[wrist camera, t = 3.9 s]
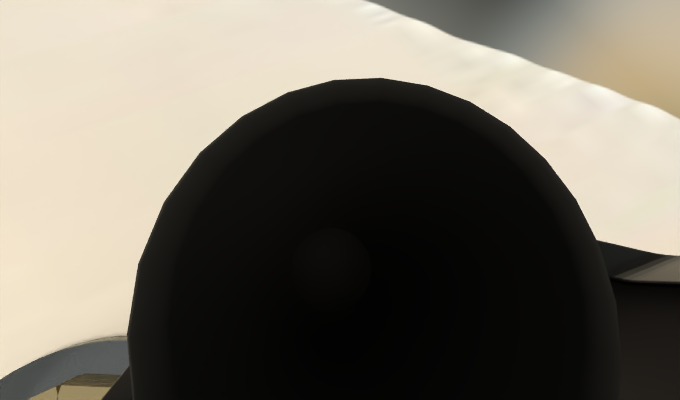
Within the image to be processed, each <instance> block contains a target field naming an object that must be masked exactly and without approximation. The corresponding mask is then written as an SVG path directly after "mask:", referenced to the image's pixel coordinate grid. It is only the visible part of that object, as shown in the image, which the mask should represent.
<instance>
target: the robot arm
mask: <svg viewBox="0 0 680 400" xmlns="http://www.w3.org/2000/svg"><path fill="white" fill-rule="evenodd" d="M597 242H598V244H599V246H600V249H601V252H602V255H603V259H604V262H605V266H606V269H607V272H608V276H609V279H610V283H611V286H612V289H613V293H614V296H615V300H616V306H617V316H618V326H619V336H620V346H621V356H622V367H621V377H620V387H619V397H618V400H680V256H672V255H663V254H656V253H651V252H646V251H642V250H637V249H633V248H629V247H624V246H620V245H616V244H611V243H607V242H603V241H598V240H597ZM101 400H133V399H132V388H131V377H130V366H128V367H127V368H126V370H125V371H124V372H123V373H122V375H121V376H120V377H119V378H118V380H117V381H116V382H115V383H114V384H113V386H112V387H111V388H110V389H109V390H108V392H107V393H106V394H105V395H104V396H103V398H102V399H101Z"/></svg>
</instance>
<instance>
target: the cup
mask: <svg viewBox="0 0 680 400" xmlns="http://www.w3.org/2000/svg"><path fill="white" fill-rule="evenodd" d="M127 343H128V354H129V366H130V377H131V388H132V399H133V400H618V397H619V387H620V377H621V367H622V356H621V346H620V336H619V326H618V316H617V306H616V300H615V296H614V293H613V289H612V286H611V283H610V279H609V276H608V272H607V269H606V266H605V262H604V259H603V255H602V252H601V249H600V246H599V244H598V242H597V240H596V238H595V236H594V234H593V232H592V230H591V228H590V226H589V224H588V222H587V220H586V218H585V216H584V214H583V212H582V210H581V209H580V207H579V205H578V203H577V201H576V199H575V198H574V196H573V195H572V194H571V192H570V191H569V190H568V188H567V187H566V186H565V184H564V183H563V182H562V180H561V179H560V178H559V176H558V175H557V174H556V172H555V171H554V170H553V169H552V167H551V166H550V165H549V163H548V162H547V161H546V159H545V158H544V157H542V156H541V155H540V154H539V153H538V152H537V151H536V150H535V149H534V148H533V147H532V146H531V145H529V144H528V143H527V142H526V141H525V140H524V139H523V138H522V137H521V136H520V135H519V134H517V133H516V132H515V131H514V130H513V129H512V128H511V127H510V126H508V125H507V124H505V123H503V122H502V121H500V120H499V119H497V118H495V117H494V116H492V115H491V114H489V113H487V112H486V111H484V110H482V109H481V108H479V107H478V106H476V105H474V104H473V103H471V102H469V101H467V100H464V99H461V98H459V97H456V96H453V95H451V94H448V93H446V92H443V91H440V90H438V89H435V88H433V87H430V86H427V85H421V84H414V83H408V82H402V81H396V80H390V79H384V78H369V79H346V80H332V81H329V82H325V83H321V84H318V85H314V86H310V87H306V88H303V89H299V90H295V91H291V92H288V93H286V94H284V95H282V96H280V97H278V98H276V99H274V100H272V101H270V102H269V103H267V104H265V105H263V106H261V107H259V108H257V109H255V110H253V111H252V112H250V113H248V114H246V115H244V116H242V117H241V118H240V119H238V120H237V121H236V122H235V123H234V124H233V125H232V126H230V127H229V128H228V129H227V130H226V131H225V132H223V133H222V134H221V135H220V136H219V137H218V138H217V139H215V140H214V141H213V142H212V143H211V144H210V145H208V146H207V147H206V148H205V149H204V150H203V151H201V152H200V153H199V155H198V156H197V158H196V159H195V160H194V162H193V163H192V164H191V166H190V167H189V169H188V170H187V171H186V173H185V174H184V175H183V177H182V178H181V180H180V181H179V182H178V184H177V185H176V186H175V188H174V189H173V191H172V192H171V193H170V195H169V196H168V197H167V199H166V200H165V202H164V204H163V206H162V208H161V211H160V213H159V216H158V218H157V220H156V223H155V225H154V228H153V230H152V232H151V235H150V237H149V240H148V242H147V244H146V247H145V249H144V252H143V254H142V256H141V259H140V261H139V264H138V269H137V275H136V282H135V288H134V294H133V301H132V307H131V313H130V320H129V326H128V332H127Z"/></svg>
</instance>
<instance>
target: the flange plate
mask: <svg viewBox="0 0 680 400" xmlns="http://www.w3.org/2000/svg"><path fill="white" fill-rule="evenodd" d="M128 366H129V354H128V343H127V336H118V337H111V338H103V339H97V340H93V341H89V342H85V343H81V344H77V345H74V346H72V347H69V348H66V349H63V350H60V351H58V352H55V353H53V354H50V355H47V356H45V357H42V358H39V359H37V360H35V361H33V362H31V363H29V364H27V365H25V366H23V367H21V368H19V369H17V370H15V371H13V372H12V373H10V374H9V375H7V376H5V377H4V378H2V379H1V380H0V400H101V399H102V398H103V396H104V395H105V394H106V393H107V392H108V390H109V389H110V388H111V387H112V386H113V384H114V383H115V382H116V381H117V380H118V378H119V377H120V376H121V375H122V373H123V372H124V371H125V370H126V368H127V367H128Z"/></svg>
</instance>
